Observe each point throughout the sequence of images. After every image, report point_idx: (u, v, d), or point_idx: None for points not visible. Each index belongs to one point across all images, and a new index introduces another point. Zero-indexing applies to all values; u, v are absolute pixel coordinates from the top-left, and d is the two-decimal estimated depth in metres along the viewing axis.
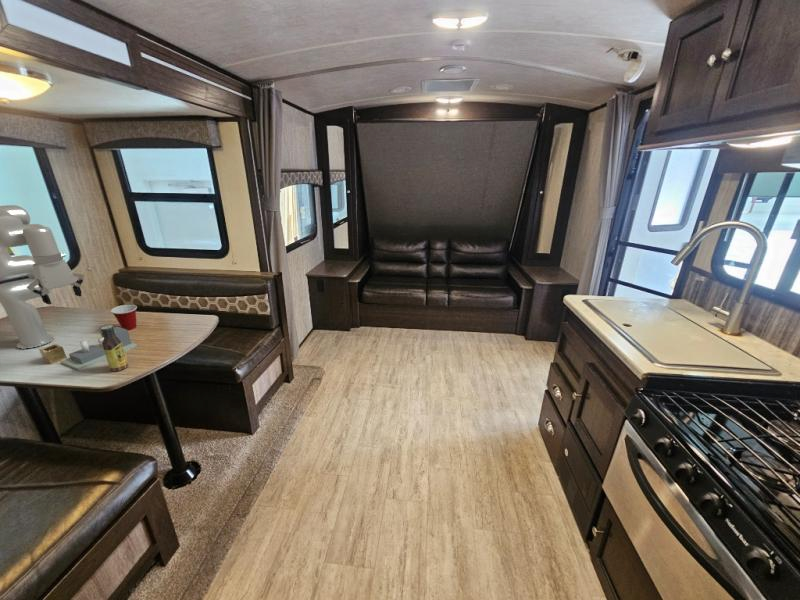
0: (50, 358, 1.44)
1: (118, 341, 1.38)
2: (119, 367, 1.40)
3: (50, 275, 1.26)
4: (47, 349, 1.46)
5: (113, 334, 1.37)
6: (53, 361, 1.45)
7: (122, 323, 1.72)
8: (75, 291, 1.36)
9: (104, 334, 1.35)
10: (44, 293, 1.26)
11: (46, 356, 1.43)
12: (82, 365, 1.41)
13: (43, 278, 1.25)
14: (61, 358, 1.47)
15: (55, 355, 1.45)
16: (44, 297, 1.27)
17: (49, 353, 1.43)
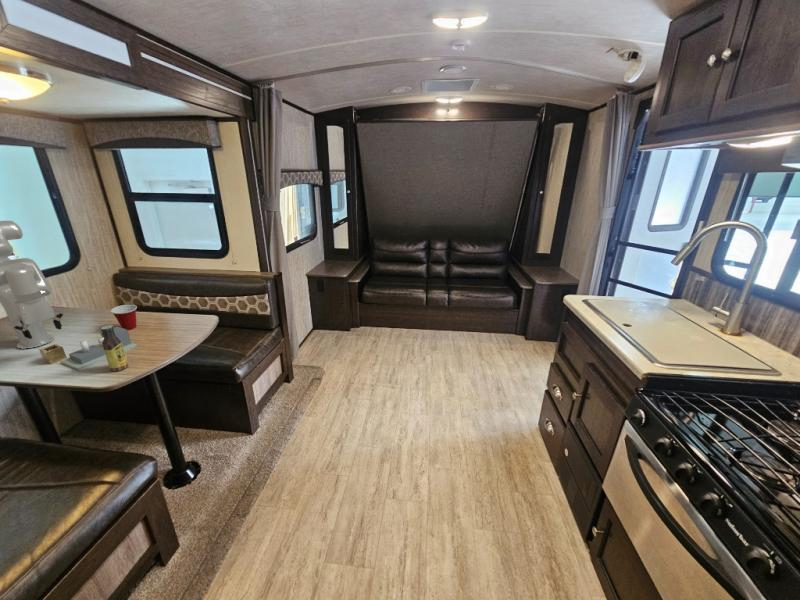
0: (50, 358, 1.44)
1: (118, 341, 1.38)
2: (119, 367, 1.40)
3: (30, 312, 1.35)
4: (47, 349, 1.46)
5: (113, 334, 1.37)
6: (53, 361, 1.45)
7: (122, 323, 1.72)
8: (55, 325, 1.45)
9: (104, 334, 1.35)
10: (25, 329, 1.35)
11: (46, 356, 1.43)
12: (82, 365, 1.41)
13: (24, 315, 1.34)
14: (61, 358, 1.47)
15: (55, 355, 1.45)
16: (25, 332, 1.36)
17: (49, 353, 1.43)
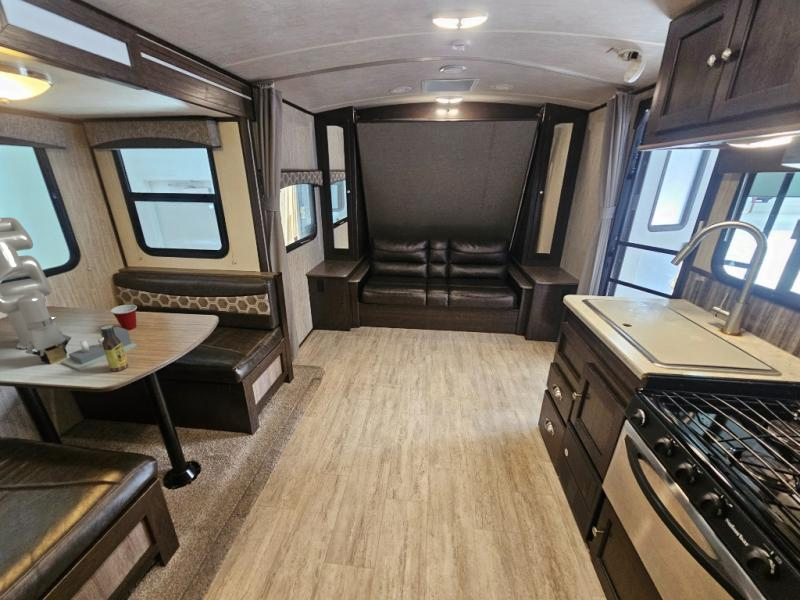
0: (50, 358, 1.44)
1: (118, 341, 1.38)
2: (119, 367, 1.40)
3: (42, 338, 1.40)
4: (47, 349, 1.46)
5: (113, 334, 1.37)
6: (53, 361, 1.45)
7: (122, 323, 1.72)
8: None
9: (104, 334, 1.35)
10: (42, 354, 1.42)
11: (46, 356, 1.43)
12: (82, 365, 1.41)
13: (35, 341, 1.39)
14: (61, 358, 1.47)
15: (55, 355, 1.45)
16: (42, 357, 1.43)
17: (49, 353, 1.43)
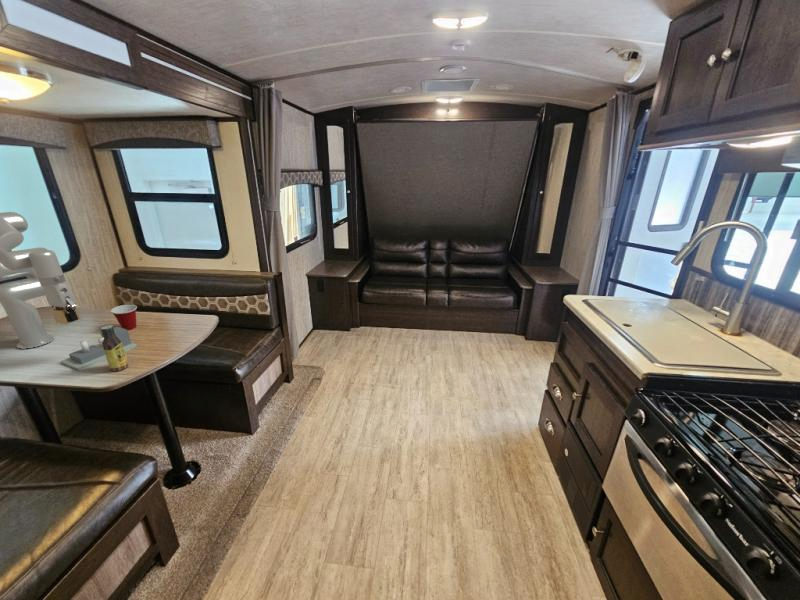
0: (54, 317, 1.38)
1: (118, 341, 1.38)
2: (119, 367, 1.40)
3: (47, 294, 1.35)
4: None
5: (113, 334, 1.37)
6: (57, 321, 1.38)
7: (122, 323, 1.72)
8: None
9: (104, 334, 1.35)
10: None
11: None
12: (82, 365, 1.41)
13: (45, 295, 1.36)
14: (61, 322, 1.38)
15: (57, 316, 1.37)
16: None
17: (53, 312, 1.37)
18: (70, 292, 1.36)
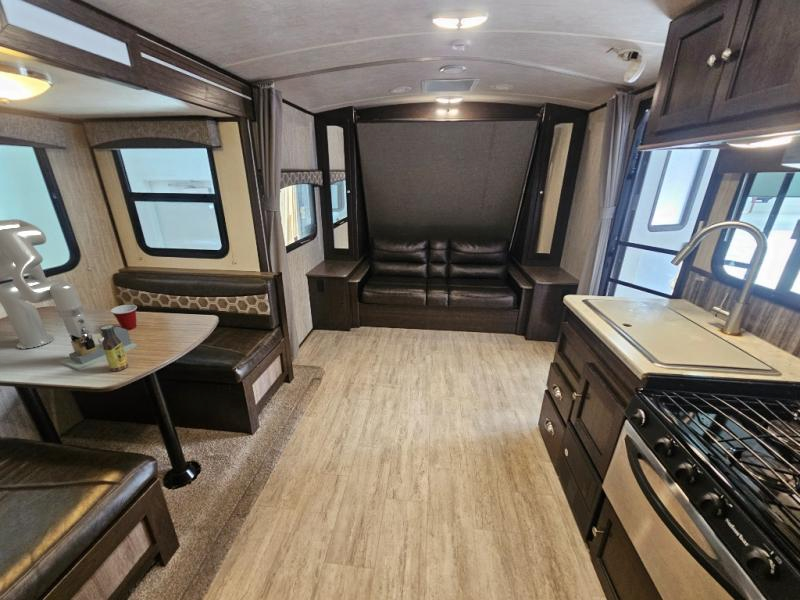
0: (73, 348, 1.44)
1: (118, 341, 1.38)
2: (119, 367, 1.40)
3: (66, 325, 1.40)
4: None
5: (113, 334, 1.37)
6: (76, 352, 1.45)
7: (122, 323, 1.72)
8: None
9: (104, 334, 1.35)
10: (70, 335, 1.45)
11: None
12: (82, 365, 1.41)
13: (65, 325, 1.42)
14: (79, 353, 1.44)
15: (75, 348, 1.44)
16: None
17: (72, 343, 1.43)
18: (87, 323, 1.41)
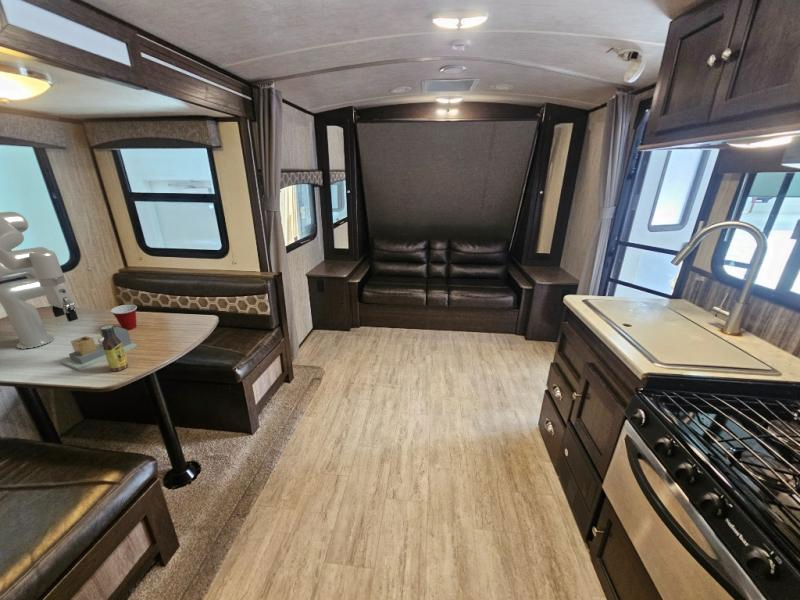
0: (73, 348, 1.44)
1: (118, 341, 1.38)
2: (119, 367, 1.40)
3: (47, 294, 1.35)
4: (87, 339, 1.47)
5: (113, 334, 1.37)
6: (76, 352, 1.45)
7: (122, 323, 1.72)
8: None
9: (104, 334, 1.35)
10: (52, 306, 1.39)
11: None
12: (82, 365, 1.41)
13: None
14: (79, 353, 1.44)
15: (75, 348, 1.44)
16: None
17: (72, 343, 1.43)
18: (69, 293, 1.36)
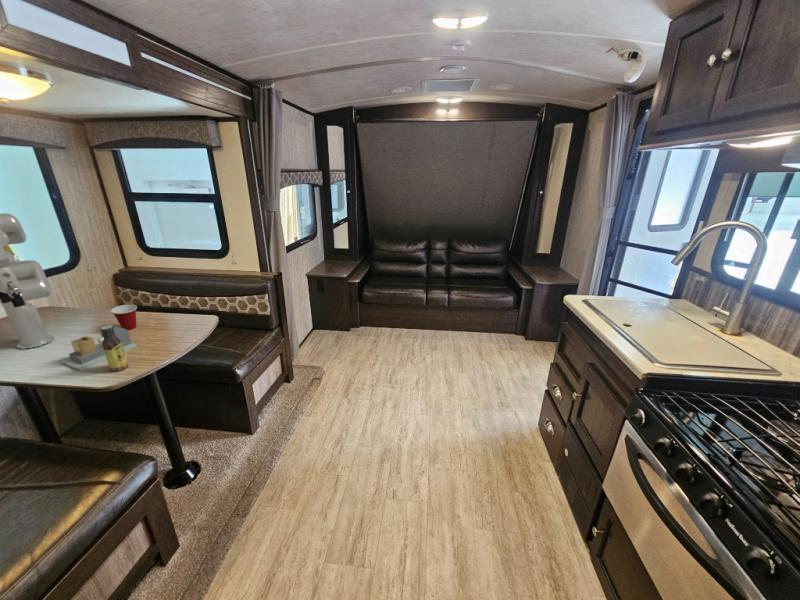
0: (73, 348, 1.44)
1: (118, 341, 1.38)
2: (119, 367, 1.40)
3: None
4: (87, 339, 1.47)
5: (113, 334, 1.37)
6: (76, 352, 1.45)
7: (122, 323, 1.72)
8: None
9: (104, 334, 1.35)
10: None
11: None
12: (82, 365, 1.41)
13: None
14: (79, 353, 1.44)
15: (75, 348, 1.44)
16: None
17: (72, 343, 1.43)
18: (13, 277, 1.30)
